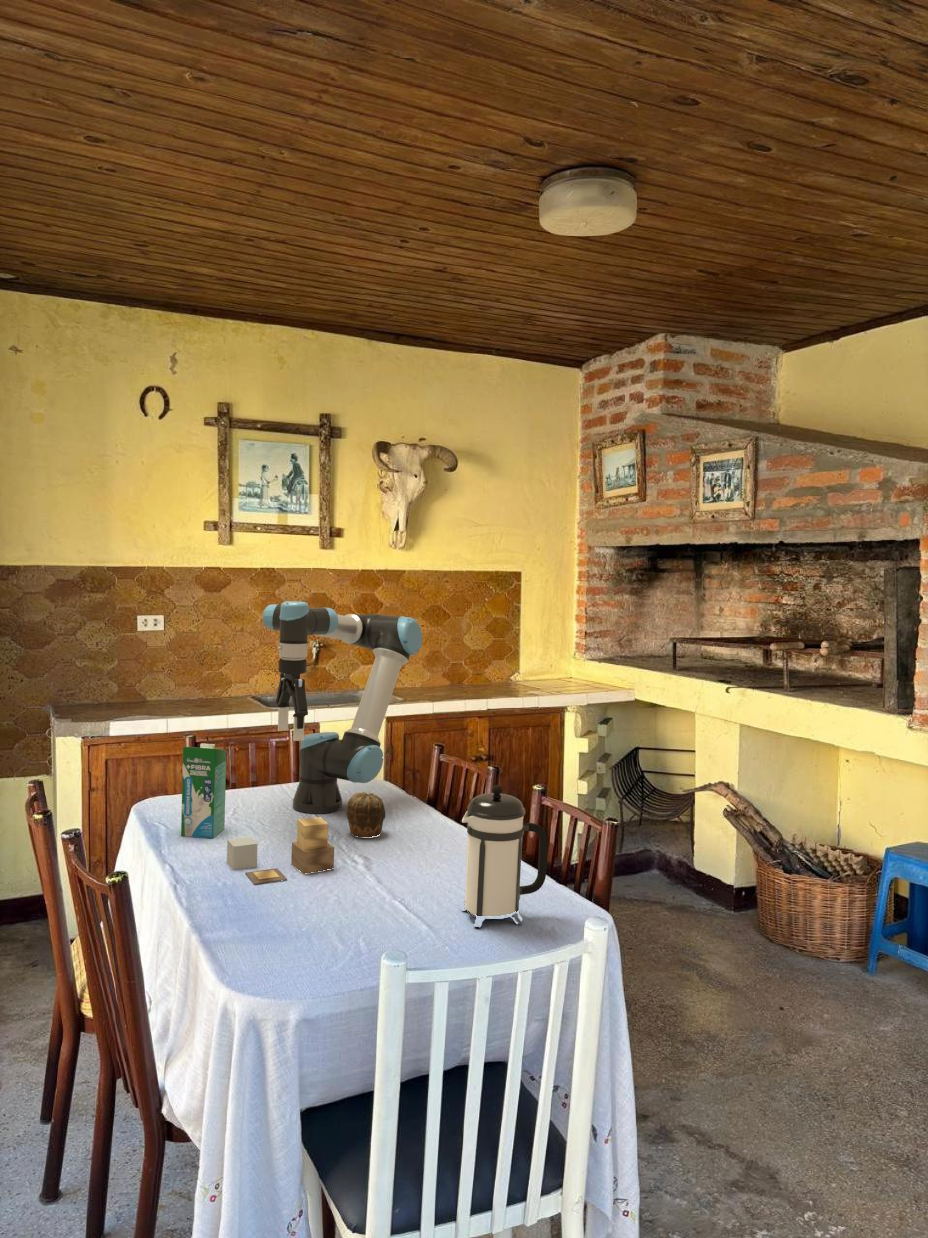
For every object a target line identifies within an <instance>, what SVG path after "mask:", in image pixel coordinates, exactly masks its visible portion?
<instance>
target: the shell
mask: <svg viewBox="0 0 928 1238" xmlns="http://www.w3.org/2000/svg"><path fill="white" fill-rule="evenodd" d="M385 818H386V809H385V803H384V801H383V799H382V797H380V796H379V795H378V794H374V793H372V792H369V793H367V792H364V791H363V792H356V793H354V794H353V795H351V797H350V798H349V800H348V801H347V806H346V819H347V820H348V821H347V822H348V827H349V833H350V834H351V835H352V834H353V835H354V836H353V835H352V836H353V837H355V836H358V837H372V836H377V835H379V834H380V833H382V831H383V824H384V820H385ZM380 835H381V834H380Z"/></svg>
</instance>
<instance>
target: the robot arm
mask: <svg viewBox="0 0 928 1238" xmlns="http://www.w3.org/2000/svg"><path fill="white" fill-rule="evenodd" d="M262 623H263V626H264V627H265V628H267V629H268V630H272V631H275V632H277V631H279V646H277V650H278V652H279V653H278V656H279V660H278V672H279V673H280V674H279V683H278V684H279V685H278V688H277V692H276V697H275V704H277V707H278V713H277V716H278V717H277V718H278V719H277V732H285V731H287V732H288V731H289V712H290V711H289V710H290V709H289V708H290V706H291V705H290V703H289V702H290V699H291V700H292V706H293V710H294V711H293V712H294V713H293V714H292V717H293V733H292V734H293V735H292V736H293V737H292V741H293V742H296V741H297V742H299V741H300V745H299V746H300V748H299V779H298V781H299V782H298V785H297V787H296V791H295V793H294V796H293V799H292V809H294V811H298V812H300V813H307V814H329V813H328V812H330V813H334V812H333V811H335V812H337V811H336V810H338V809H340V808H341V807H342V808H343V798H342V795H341V791H340V788H339V784H338V779H339V780H344V781H349V782H352V783H354V784H355V783H359V784H367V783H369V782H371V781H373V780H375V778H376V777H377V776H378V775H379V773H380V772H381V770H382V767H383V764H384V758H383V757H384V752H383V749H382V748H381V744H382V743H381V740H380V739H379V735H380V732H381V729H382V726H383V722H384V719H385V716H386V714H387V711H388V707H389V704H390V702H391V699H392V696H393V692H394V690H395V686H396V684H397V680H398V677H399V675H400V671H401V669H402V666H404V665H406V664H408V662H409V659H410V657H411V656H415V655H416V654H417V653H419V651H421V648H422V643H423V633H422V628H421V626H420V624H419V622H418V621H417V620H416V619H415V618H413V617H408V616H403V615H401V616H400V615H387V614H377V613H376V614H375V613H373V614H372V613H371V614H367V613H366V614H356V613H355V614H354V613H347V614H345V615H341V614H337V612H336V611H335V609H332V608H331V607H310V606H309V604H308V602H306V601H283V602H282V603H281V604H280V603H277V604H269V605H267V606H266V607H265V608H264V610H263V612H262ZM308 636H316V637H322V638H329V639H336V640H340V641H342V642H343V643H344V644H348V645H354V646H357V647H360V648H364V649H367V650H371V651H372V653H373V655H374V657H375V658H374V661H373V664H372V667H371V670H370V672H369V676H368V679H367V681H366V685H365V687H364V689H363V693H362V697H361V699H360V702H359V705H358V708H357V711H356V713H355V716H354V719H353V721H352V725H351V727H350V729H349V728H348V729H346V730H345V731H344V733H343V736H342V737H341V739H340V735H339V733H338V732H335V731H326V732H325V731H324V732H315V733H314V732H312V733H309V734H305V717H306V716H308V715H309V711H308V704H307V703H308V702H307V693H306V680H305V679H304V678H301V674H305V673H306V672H307V666H308V663H307V661H308V660H307V659H306V658H307V657H308V646H309V645H308ZM342 808H341V809H342ZM341 809H340V810H341ZM338 811H339V810H338Z"/></svg>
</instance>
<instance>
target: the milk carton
mask: <svg viewBox="0 0 928 1238" xmlns="http://www.w3.org/2000/svg"><path fill="white" fill-rule="evenodd" d="M215 747H216V744H214V743H213V744H212V743H200V745H199V747H196V746H183V747H182V776H181V777H182V779H181V781H182V782H181V784H182V785H181V819H180V820H181V821H180V822H181V823H180V825H181V826H180V828H181V830H180V836H181V837H185V838H186V837H188V838H199V839H201V838H202V839H214V838H215V837H216V836H217V835H219V833H221V832H223V830H225V827H226V826H225V821H226V820H225V819H226V815H225V814H226V785H227V784H226V782H227V781H226V779H227V749H220V748H215Z"/></svg>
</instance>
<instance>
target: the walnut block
mask: <svg viewBox="0 0 928 1238" xmlns="http://www.w3.org/2000/svg"><path fill="white" fill-rule="evenodd" d="M290 856H291V860H290V862H291V863H290V865H291V866H292V865H293V866H294V867H296V868H297V869H298V870H300V871H301V872H302V873H303V874H305V873H311V872H318V871H323V870H327V869H332V868H335V867H334V865H335V846H333V845H332V844H331V843H329V842H328V844H327V847H325V848H317V849H308V850H304V849H303V848H302V847H301V846H300V845H299V844H298V843H297V841H292V842H291V855H290ZM293 866H292V867H293ZM294 867H293V868H294ZM296 868H295V869H296ZM297 869H296V870H297ZM298 870H297V871H298ZM301 872H300V873H301ZM302 873H301V874H302ZM303 874H302V875H303Z"/></svg>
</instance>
